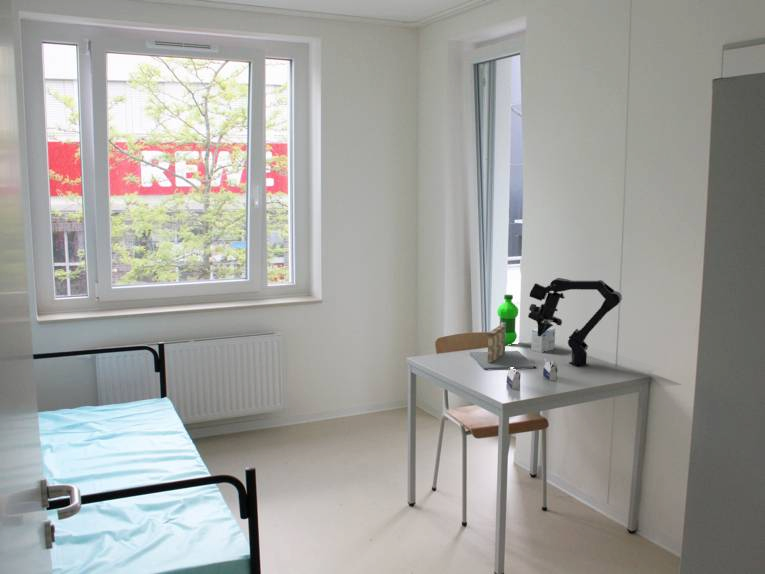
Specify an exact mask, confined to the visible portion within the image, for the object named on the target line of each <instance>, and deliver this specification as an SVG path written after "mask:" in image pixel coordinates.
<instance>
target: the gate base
mask: <svg viewBox="0 0 765 574" xmlns="http://www.w3.org/2000/svg"><path fill="white" fill-rule="evenodd" d="M501 326H505V329H504V345H503V354H502V355H501V356H500V357H498V358H497V359H496V360H494V361H493V362H487V359H488V351H473V352H471V351H470V352H469V355H470V356H471V358H472V357H473V358H474V359H475V360H476V361H477V362H478V363H477V362H476V361H475V360H474V359H473V358H472V359H473V360H474V361H475V362H476V363H477V364H478V365H479V366H480V367H481V368H482V369H483V370H484V369H498V370H509V369H508V368H510V367H514V368H528V369H533V368H532V367H536V368H537V365H536V364H535V363H534V362H532V361H530V359H529V358H527V357H526V356H525V355H524V354H522V353H521V352H520V351H519V350H506V345H505V336H506V323H504V322H502V323H501Z"/></svg>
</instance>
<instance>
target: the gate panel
mask: <svg viewBox="0 0 765 574" xmlns="http://www.w3.org/2000/svg"><path fill="white" fill-rule="evenodd" d="M504 329H505V326H500V325H498V326H497V327H495V328H494V329H492V330H490V331H489V332H487V352H488V359H487V362H493V361H494V360H496V359H497V358H498V357H500V356H501V355H502V354H503V345H504Z"/></svg>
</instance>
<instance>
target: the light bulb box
mask: <svg viewBox="0 0 765 574" xmlns="http://www.w3.org/2000/svg"><path fill="white" fill-rule="evenodd" d="M555 343H556V328H554V327H552V326H551V327H550V328H549V329H548V330H547V331H546V332H544V333H543V334H542V335H541V336H538V327H537V328H532V329H531V346H530V347H531V348H530V349H532V350H531V351H533V350H536V351H535V352H537V351H539V352H538V353H541V352H542V353H545V352H549V351H553V350H555V345H556V344H555ZM544 351H545V352H544Z"/></svg>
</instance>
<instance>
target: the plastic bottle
mask: <svg viewBox="0 0 765 574" xmlns="http://www.w3.org/2000/svg"><path fill="white" fill-rule="evenodd" d="M503 298H504V302H503V303H502V304H500V305H499V306H498V308H497V315H498V317H499V326H501V323H502V322H504V323H506V336H505V346H506V345H508V346H509V345H512V344H513V343H515V342H516V339H517V338H518V337H517V336H518V334H517V332H516V319H517V317H518V316H519V308H518V306H516V305H515V303H514V302H513V301H512V300H513V298H514V295H513V294H504V297H503Z"/></svg>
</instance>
